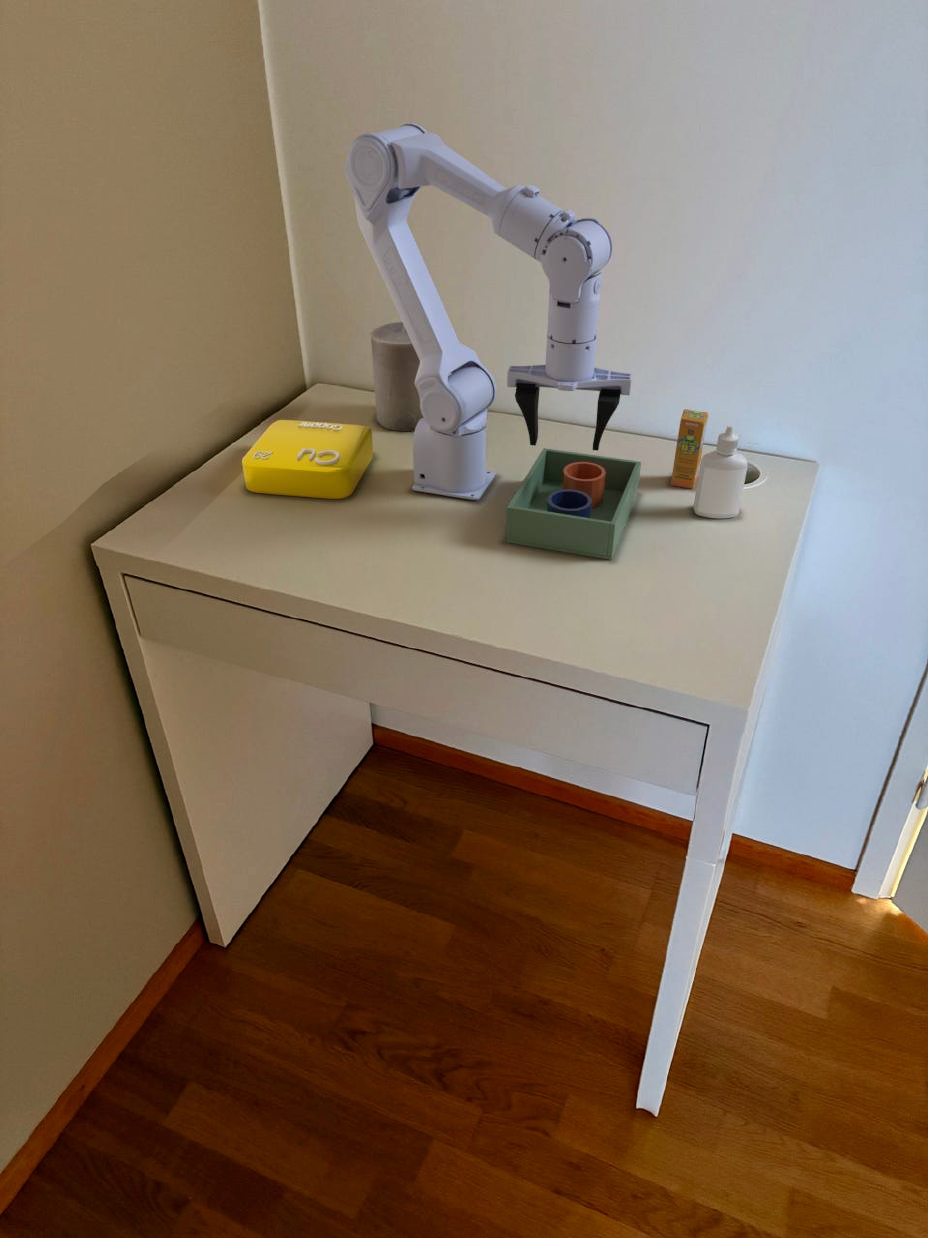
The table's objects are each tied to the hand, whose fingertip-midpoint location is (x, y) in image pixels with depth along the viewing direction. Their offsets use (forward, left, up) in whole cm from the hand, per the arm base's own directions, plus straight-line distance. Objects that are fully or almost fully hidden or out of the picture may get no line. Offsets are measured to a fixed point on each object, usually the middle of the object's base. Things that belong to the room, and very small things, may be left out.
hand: (564, 444), depth 113 cm
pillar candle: (-30, +21, -10) cm, 38 cm away
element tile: (-36, 0, -10) cm, 37 cm away
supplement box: (+14, +13, -10) cm, 22 cm away
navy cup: (+2, -5, -9) cm, 10 cm away
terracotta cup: (+2, +3, -9) cm, 10 cm away
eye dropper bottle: (+19, +6, -10) cm, 22 cm away
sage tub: (+2, -1, -10) cm, 10 cm away
